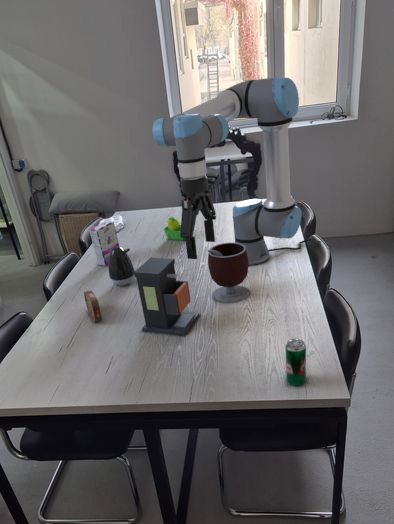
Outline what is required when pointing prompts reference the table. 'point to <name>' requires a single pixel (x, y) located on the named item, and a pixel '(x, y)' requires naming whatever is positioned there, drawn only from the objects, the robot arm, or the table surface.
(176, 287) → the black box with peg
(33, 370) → the table surface
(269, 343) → the table surface
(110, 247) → the candy bar box
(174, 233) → the fruit basket
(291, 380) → the soda can
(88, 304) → the tin
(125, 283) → the pump dispenser
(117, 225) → the knuckle duster
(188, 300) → the push plate
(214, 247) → the mate gourd
